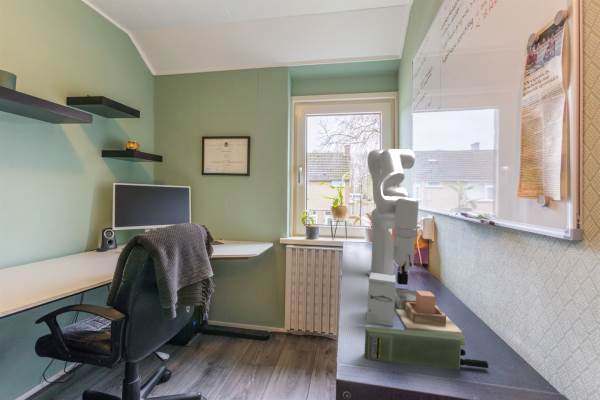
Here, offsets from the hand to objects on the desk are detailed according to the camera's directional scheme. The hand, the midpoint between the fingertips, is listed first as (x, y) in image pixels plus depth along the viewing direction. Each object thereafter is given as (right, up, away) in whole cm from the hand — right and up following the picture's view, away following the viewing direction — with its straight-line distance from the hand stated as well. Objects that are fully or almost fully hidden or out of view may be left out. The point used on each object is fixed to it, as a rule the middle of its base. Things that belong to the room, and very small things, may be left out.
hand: (402, 283), depth 94 cm
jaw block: (0, -4, -17) cm, 18 cm away
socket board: (0, -5, -18) cm, 19 cm away
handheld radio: (-10, -6, -37) cm, 39 cm away
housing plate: (-1, -5, -8) cm, 9 cm away
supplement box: (-13, -5, -17) cm, 22 cm away
